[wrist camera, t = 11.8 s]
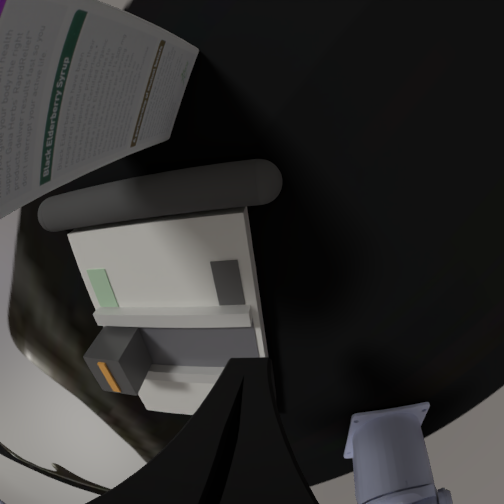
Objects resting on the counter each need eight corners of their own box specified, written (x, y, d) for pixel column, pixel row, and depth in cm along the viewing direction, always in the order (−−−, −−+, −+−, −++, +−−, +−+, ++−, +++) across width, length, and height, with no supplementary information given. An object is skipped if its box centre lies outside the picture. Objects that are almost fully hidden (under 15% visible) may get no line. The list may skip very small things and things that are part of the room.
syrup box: (203, 47, 14) (-18, -55, 1) (170, 144, 17) (-60, 264, 4) (117, 32, 14) (-103, 2, 1) (91, 121, 16) (-125, 194, 3)
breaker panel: (275, 404, 25) (273, 425, 23) (152, 398, 27) (144, 416, 25) (246, 204, 18) (240, 218, 16) (79, 226, 20) (59, 240, 17)
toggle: (152, 361, 22) (136, 397, 19) (120, 359, 22) (102, 391, 19) (138, 327, 20) (117, 362, 17) (104, 325, 21) (81, 358, 18)
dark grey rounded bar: (284, 195, 17) (284, 209, 15) (57, 225, 20) (37, 239, 18) (280, 153, 16) (279, 160, 14) (48, 195, 19) (27, 206, 17)
